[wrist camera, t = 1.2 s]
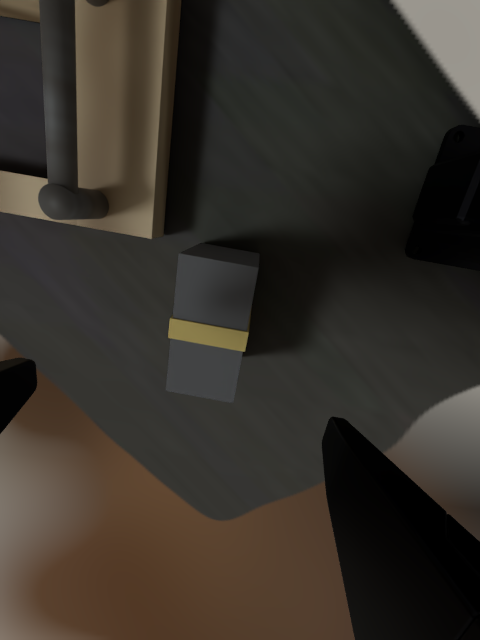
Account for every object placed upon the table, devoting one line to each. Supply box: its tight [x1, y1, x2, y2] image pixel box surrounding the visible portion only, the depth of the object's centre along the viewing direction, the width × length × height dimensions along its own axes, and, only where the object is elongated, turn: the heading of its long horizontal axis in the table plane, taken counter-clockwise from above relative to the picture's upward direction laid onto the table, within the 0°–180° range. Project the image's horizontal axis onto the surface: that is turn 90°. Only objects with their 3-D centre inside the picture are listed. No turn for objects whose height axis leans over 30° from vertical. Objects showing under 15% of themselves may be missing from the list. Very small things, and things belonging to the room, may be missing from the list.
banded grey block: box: [166, 243, 260, 403], centre depth 16 cm, size 4×7×5 cm, turn 170°
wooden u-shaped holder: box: [0, 0, 182, 239], centre depth 13 cm, size 14×11×5 cm
